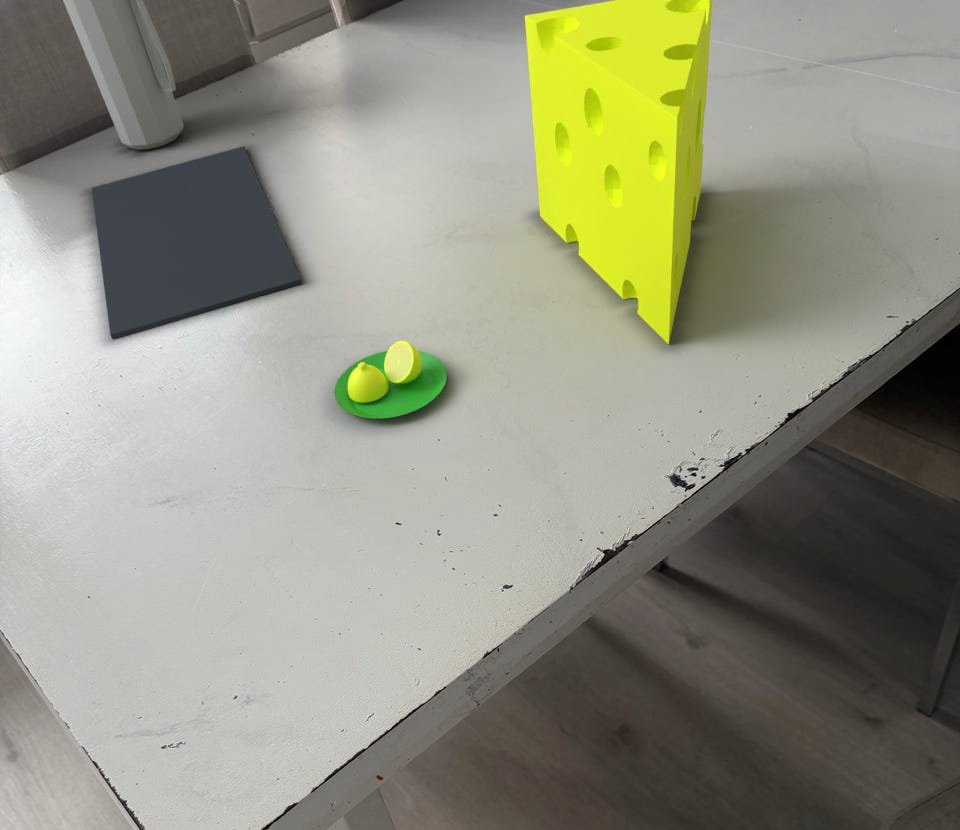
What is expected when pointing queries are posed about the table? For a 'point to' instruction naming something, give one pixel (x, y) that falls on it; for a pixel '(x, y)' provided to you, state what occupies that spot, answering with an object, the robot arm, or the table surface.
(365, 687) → the table surface
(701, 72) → the cheese wedge
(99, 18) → the water bottle
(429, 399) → the lemon
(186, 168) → the slate mat
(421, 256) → the table surface
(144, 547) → the table surface
